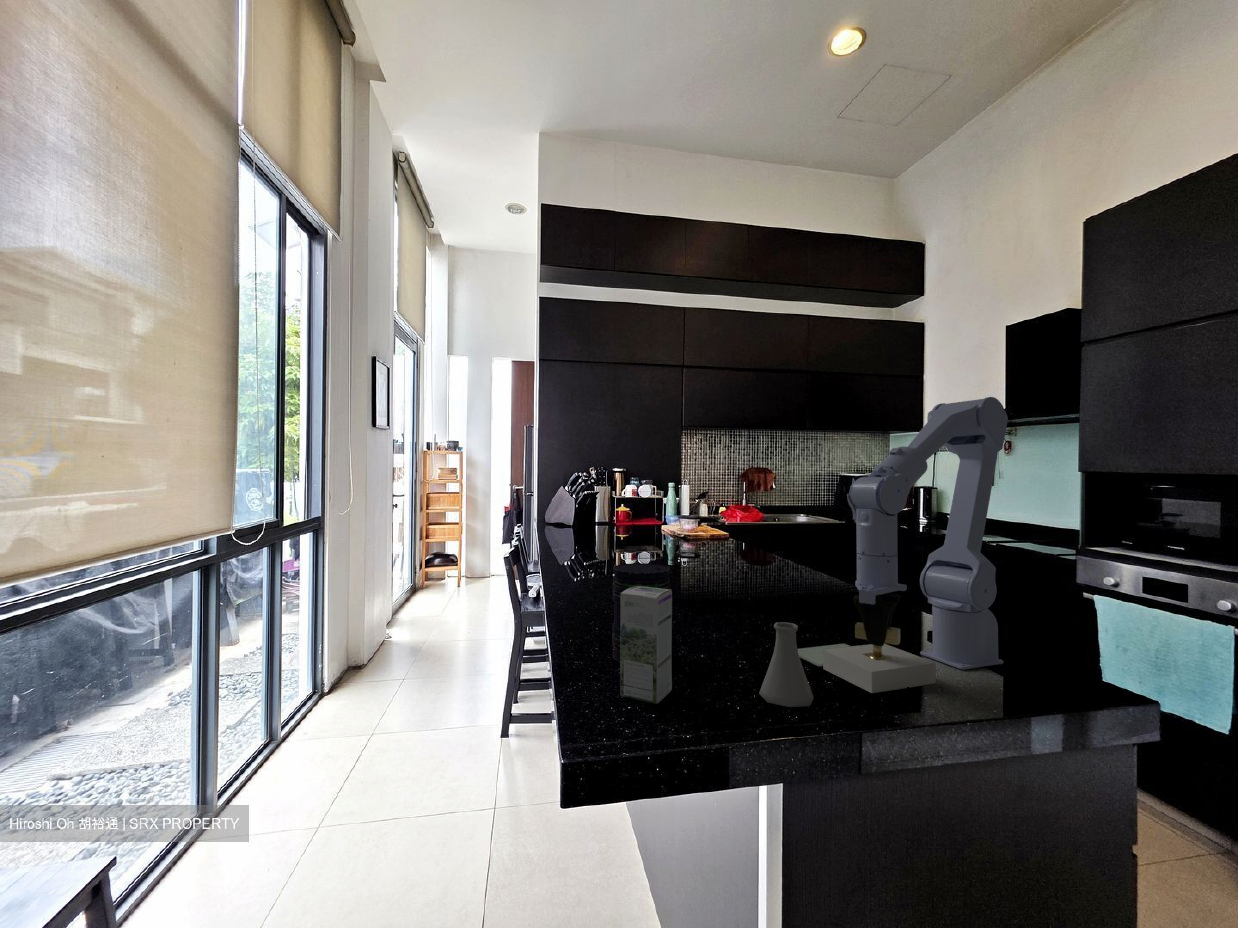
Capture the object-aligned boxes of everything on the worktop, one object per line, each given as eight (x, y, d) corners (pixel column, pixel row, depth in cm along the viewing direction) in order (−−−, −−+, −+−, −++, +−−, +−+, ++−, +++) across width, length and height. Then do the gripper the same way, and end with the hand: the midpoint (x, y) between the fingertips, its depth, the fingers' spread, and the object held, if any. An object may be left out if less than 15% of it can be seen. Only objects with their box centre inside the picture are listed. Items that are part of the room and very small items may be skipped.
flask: (818, 711, 68) (818, 634, 69) (760, 706, 70) (760, 630, 70) (809, 689, 76) (809, 619, 76) (757, 685, 77) (757, 616, 77)
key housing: (882, 661, 88) (882, 643, 88) (935, 683, 78) (935, 662, 78) (823, 669, 84) (823, 649, 84) (871, 693, 74) (871, 671, 74)
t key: (854, 673, 82) (854, 625, 82) (858, 669, 84) (858, 621, 84) (898, 682, 78) (897, 632, 78) (900, 678, 80) (900, 628, 80)
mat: (844, 645, 96) (844, 643, 96) (876, 658, 89) (876, 657, 89) (788, 651, 92) (788, 650, 92) (818, 666, 85) (818, 664, 85)
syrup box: (673, 690, 75) (673, 588, 75) (656, 706, 70) (657, 595, 70) (636, 683, 78) (637, 584, 78) (618, 697, 72) (619, 591, 73)
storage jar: (603, 662, 86) (604, 570, 87) (622, 644, 96) (622, 561, 96) (662, 669, 83) (663, 574, 84) (675, 650, 92) (676, 565, 93)
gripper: (897, 562, 73) (898, 660, 73) (913, 551, 85) (913, 636, 85) (844, 557, 78) (844, 650, 77) (865, 547, 89) (866, 628, 89)
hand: (877, 642), depth 81 cm, fingers closed on t key, 2 cm apart
